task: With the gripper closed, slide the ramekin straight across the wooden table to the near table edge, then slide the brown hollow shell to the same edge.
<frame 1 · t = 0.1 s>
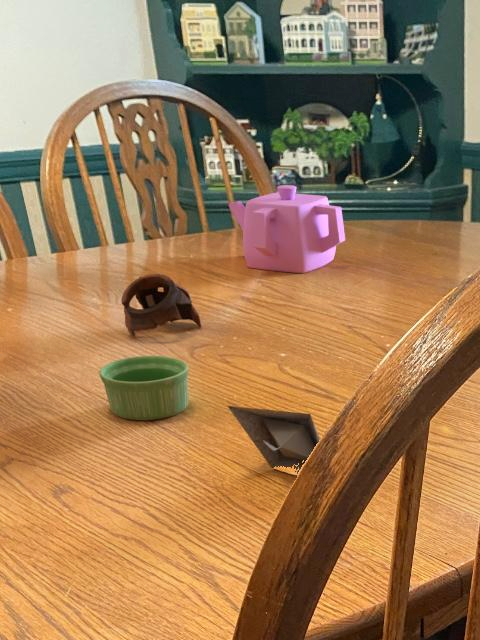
ramekin: (150, 410, 98), on the table
brown hollow shell: (162, 331, 122), on the table
teakettle: (290, 263, 158), on the table
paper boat: (284, 474, 85), on the table
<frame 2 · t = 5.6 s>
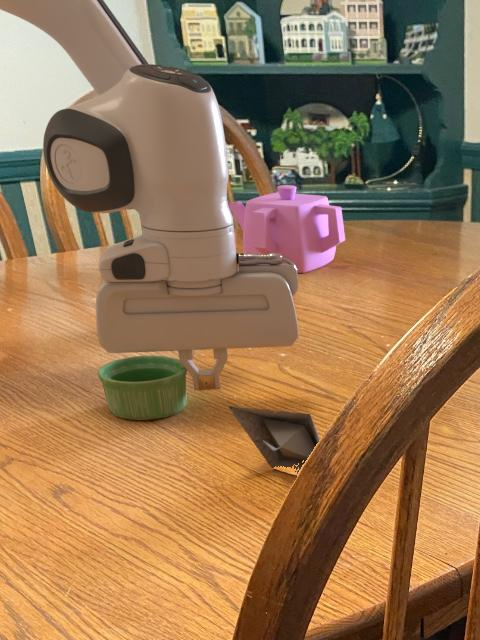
hand: (207, 388, 98), 2 cm above the table, tool pointing down, fingers closed
ramekin: (149, 409, 98), on the table, touching gripper
everything else where it was.
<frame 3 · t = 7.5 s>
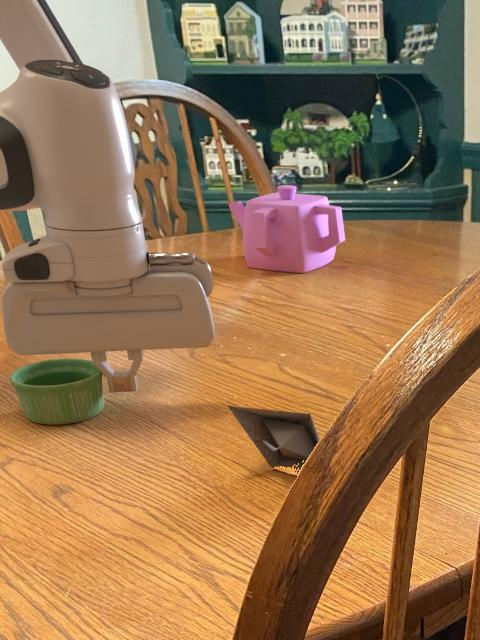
hand: (124, 390, 96), 2 cm above the table, tool pointing down, fingers closed
ramekin: (66, 413, 96), on the table, touching gripper
everything else where it was.
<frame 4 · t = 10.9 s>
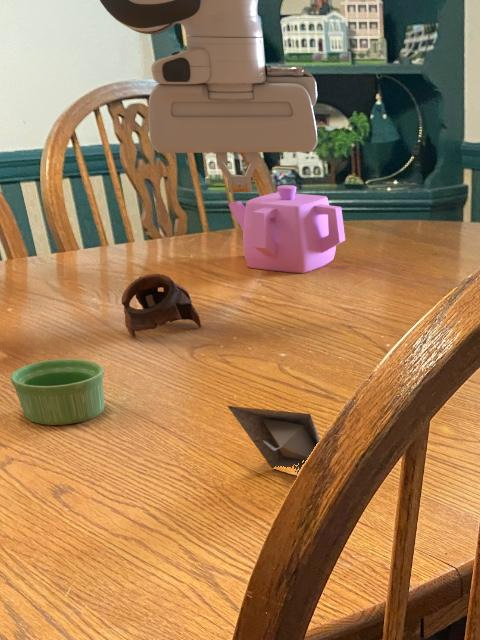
hand: (240, 191, 115), 17 cm above the table, tool pointing down, fingers closed
ramekin: (66, 414, 96), on the table
everything else where it was.
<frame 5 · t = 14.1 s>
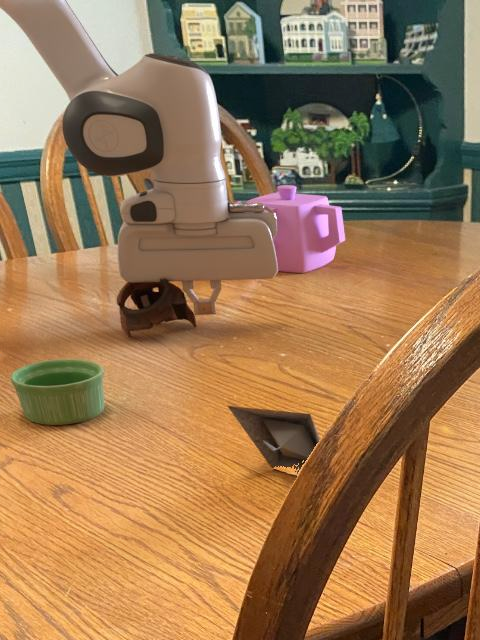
hand: (205, 313, 122), 2 cm above the table, tool pointing down, fingers closed
brown hollow shell: (157, 331, 122), on the table, touching gripper
everything else where it was.
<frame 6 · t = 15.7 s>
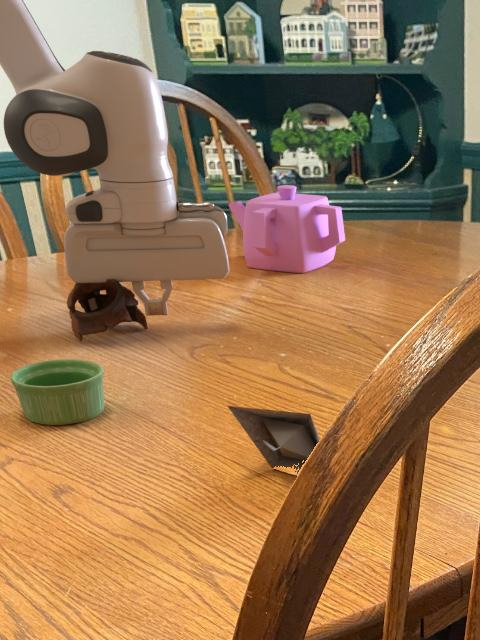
hand: (157, 314, 121), 2 cm above the table, tool pointing down, fingers closed
brown hollow shell: (108, 334, 120), on the table, touching gripper
everything else where it was.
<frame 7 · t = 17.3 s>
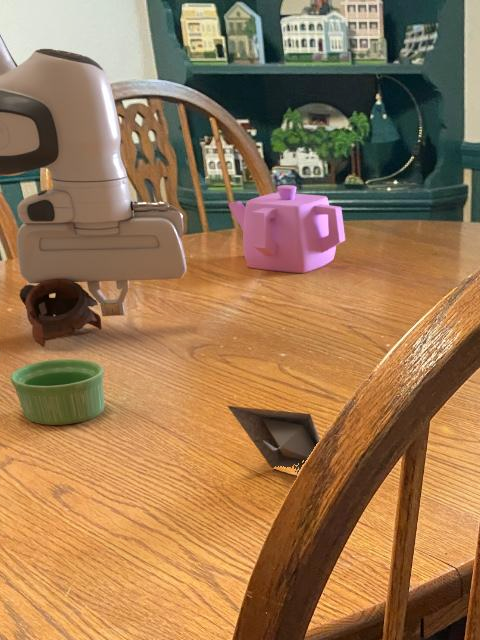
hand: (114, 314, 120), 2 cm above the table, tool pointing down, fingers closed
brown hollow shell: (64, 338, 118), on the table, touching gripper
everything else where it was.
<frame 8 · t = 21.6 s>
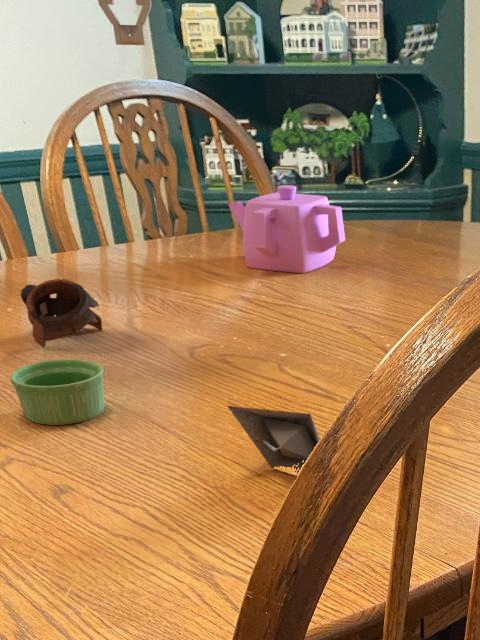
hand: (131, 45, 95), 33 cm above the table, tool pointing down, fingers closed
brown hollow shell: (64, 338, 118), on the table
everything else where it was.
at the end: ramekin inside the target area (0.4 cm from its centre), on the table; brown hollow shell inside the target area (1.7 cm from its centre), on the table; brown hollow shell tilted 0° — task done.
